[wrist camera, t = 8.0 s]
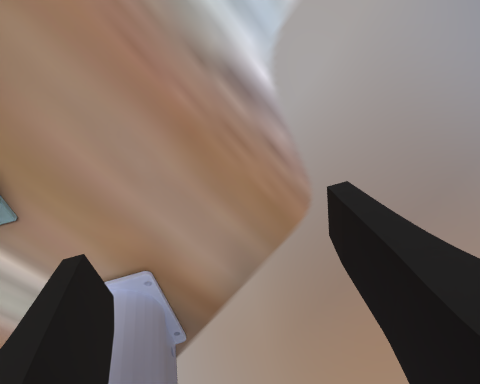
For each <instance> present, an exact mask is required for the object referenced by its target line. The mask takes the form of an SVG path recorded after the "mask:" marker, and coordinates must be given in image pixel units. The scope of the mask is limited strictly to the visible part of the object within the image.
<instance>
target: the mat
mask: <svg viewBox="0 0 480 384" xmlns="http://www.w3.org/2000/svg"><path fill="white" fill-rule="evenodd" d="M16 219H17V216H16V214H15V213H14V212H13V211H12V210H11V208H10V207H9V206H8V205H7V203H6V202H5V201H4V200H3V198H2V197H1V196H0V225H1V224H4V223H8V222H12V221H15V220H16Z"/></svg>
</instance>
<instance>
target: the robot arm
mask: <svg viewBox="0 0 480 384" xmlns="http://www.w3.org/2000/svg"><path fill="white" fill-rule="evenodd" d="M327 195H328V196H327V197H328V218H329V236H330V238H331V240H332V243H333V245H334V247H335V249H336V252H337V254H338V256H339V258H340V260H341V263H342V265H343V266H344V268H345V270H346V271H347V273H348V275H349V276H350V278H351V280H352V281H353V283H354V285H355V286H356V288H357V290H358V291H359V293H360V294H361V296H362V298H363V299H364V301H365V303H366V304H367V306H368V307H369V309H370V311H371V312H372V314H373V315H374V317H375V319H376V320H377V322H378V324H379V325H380V327H381V328H382V330H383V332H384V334H385V336H386V337H387V339H388V341H389V343H390V345H391V347H392V349H393V351H394V353H395V355H396V357H397V359H398V361H399V363H400V365H401V367H402V369H403V371H404V373H405V375H406V377H407V380H408V382H409V384H480V259H479V258H477V257H475V256H473V255H471V254H469V253H466V252H464V251H462V250H460V249H458V248H456V247H454V246H452V245H450V244H448V243H446V242H445V241H443V240H441V239H439V238H437V237H435V236H434V235H432V234H430V233H428V232H426V231H425V230H423V229H421V228H419V227H418V226H416V225H414V224H413V223H411V222H409V221H408V220H406V219H405V218H403V217H401V216H400V215H398V214H396V213H395V212H393V211H392V210H390V209H389V208H387V207H385V206H384V205H382V204H381V203H379V202H378V201H376V200H375V199H373V198H372V197H370V196H369V195H367V194H366V193H364V192H363V191H361V190H360V189H358V188H357V187H355V186H354V185H352V184H351V183H349V182H348V181H346V182H342V183H339V184H335V185H332V186H328V187H327ZM147 281H149V282H147ZM185 340H186V334H185V332H184V330H183V328H182V327H181V325H180V323H179V321H178V319H177V318H176V316H175V314H174V312H173V310H172V308H171V307H170V305H169V303H168V301H167V299H166V298H165V296H164V294H163V292H162V290H161V289H160V287H159V285H158V283H157V281H156V279H155V278H154V276H153V274H152V273H151V272H149V271H143V272H139V273H135V274H132V275H128V276H125V277H121V278H118V279H114V280H110V281H107V282H103V280H102V279H101V277H100V276H99V275H98V273H97V272H96V270H95V269H94V267H93V266H92V265H91V263H90V262H89V260H88V259H87V258H86V256H85V255H84V254H82V255H78V256H75V257H71V258H68V259H64V260H62V262H61V263H60V265H59V266H58V267H57V269H56V270H55V272H54V273H53V274H52V276H51V277H50V279H49V280H48V282H47V283H46V285H45V286H44V288H43V289H42V291H41V292H40V294H39V295H38V297H37V298H36V300H35V301H34V303H33V304H32V306H31V307H30V308H29V310H28V311H27V313H26V314H25V316H24V317H23V319H22V320H21V321H20V323H19V324H18V326H17V327H16V329H15V330H14V332H13V333H12V334H11V336H10V337H9V338H8V340H7V341H6V342H5V344H4V345H3V346H2V348H1V349H0V384H177V365H176V345H175V344H178V343H182V342H184V341H185Z"/></svg>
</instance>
